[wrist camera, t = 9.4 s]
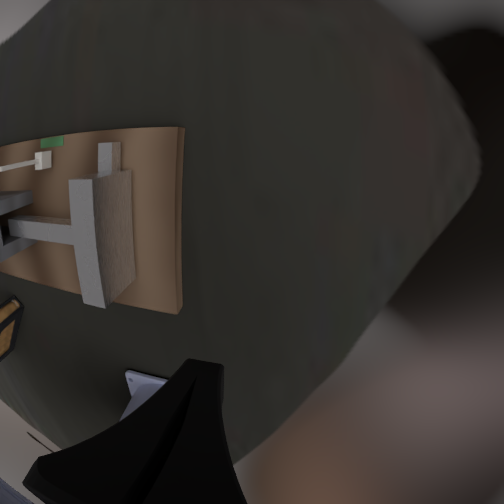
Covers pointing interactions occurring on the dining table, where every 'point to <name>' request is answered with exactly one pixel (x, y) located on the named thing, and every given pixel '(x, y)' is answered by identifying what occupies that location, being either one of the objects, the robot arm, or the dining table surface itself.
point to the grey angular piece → (93, 228)
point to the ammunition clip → (9, 325)
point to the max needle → (33, 162)
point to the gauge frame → (58, 206)
